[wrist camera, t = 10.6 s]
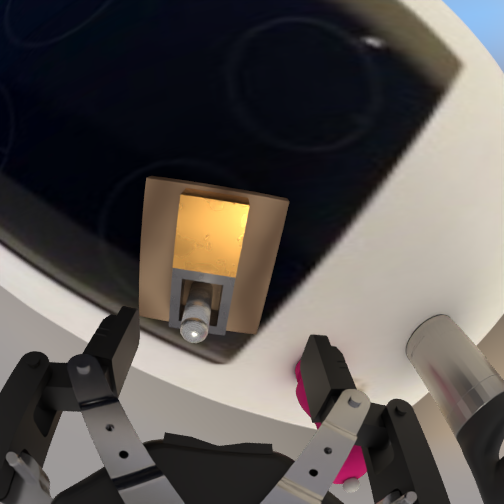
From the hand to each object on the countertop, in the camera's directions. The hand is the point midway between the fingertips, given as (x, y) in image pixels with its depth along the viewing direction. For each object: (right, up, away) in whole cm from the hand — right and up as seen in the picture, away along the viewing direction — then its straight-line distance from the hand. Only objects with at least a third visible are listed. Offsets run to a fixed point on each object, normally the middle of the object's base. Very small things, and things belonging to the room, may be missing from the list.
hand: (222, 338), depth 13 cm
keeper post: (-4, 0, +19) cm, 19 cm away
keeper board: (-4, +3, +19) cm, 19 cm away
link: (-3, +3, +17) cm, 18 cm away
